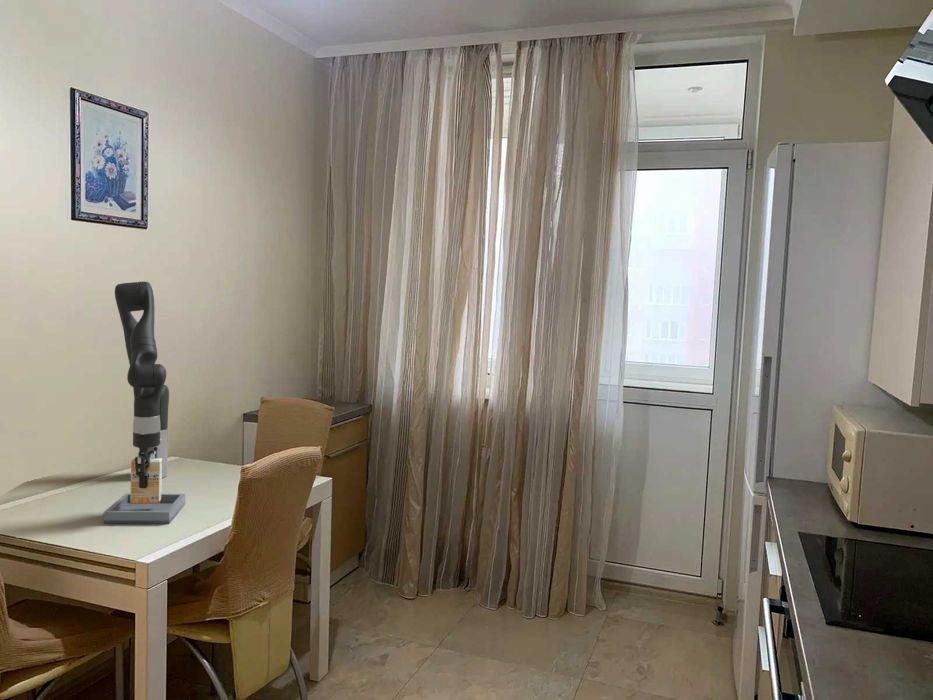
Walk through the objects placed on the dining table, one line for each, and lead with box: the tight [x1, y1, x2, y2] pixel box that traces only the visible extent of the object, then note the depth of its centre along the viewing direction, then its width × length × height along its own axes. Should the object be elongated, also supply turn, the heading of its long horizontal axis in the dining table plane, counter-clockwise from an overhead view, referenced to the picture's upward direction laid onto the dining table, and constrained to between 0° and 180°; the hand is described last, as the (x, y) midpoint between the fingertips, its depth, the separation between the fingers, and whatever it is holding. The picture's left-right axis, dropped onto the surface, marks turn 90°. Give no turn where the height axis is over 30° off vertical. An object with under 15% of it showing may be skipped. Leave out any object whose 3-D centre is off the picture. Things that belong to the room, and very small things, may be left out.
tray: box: [103, 492, 186, 525], centre depth 215 cm, size 18×18×4 cm
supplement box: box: [130, 458, 163, 504], centre depth 214 cm, size 8×5×13 cm, turn 105°
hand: (146, 485), depth 214 cm, fingers closed on supplement box, 5 cm apart
